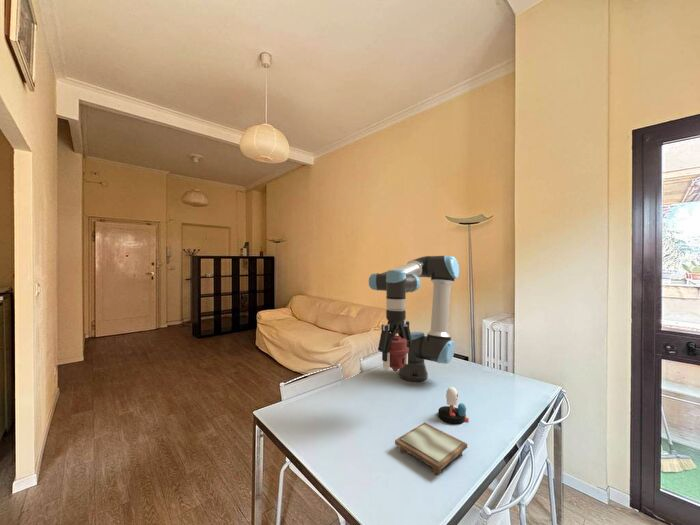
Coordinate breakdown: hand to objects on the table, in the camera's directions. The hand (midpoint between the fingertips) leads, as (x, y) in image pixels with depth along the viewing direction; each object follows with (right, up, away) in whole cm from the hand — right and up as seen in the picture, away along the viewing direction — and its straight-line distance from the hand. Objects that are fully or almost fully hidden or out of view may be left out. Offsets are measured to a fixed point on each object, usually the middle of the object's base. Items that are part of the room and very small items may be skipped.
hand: (395, 366), depth 113 cm
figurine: (+22, -20, -1) cm, 30 cm away
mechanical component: (0, -1, 0) cm, 1 cm away
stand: (+8, -20, -21) cm, 30 cm away
